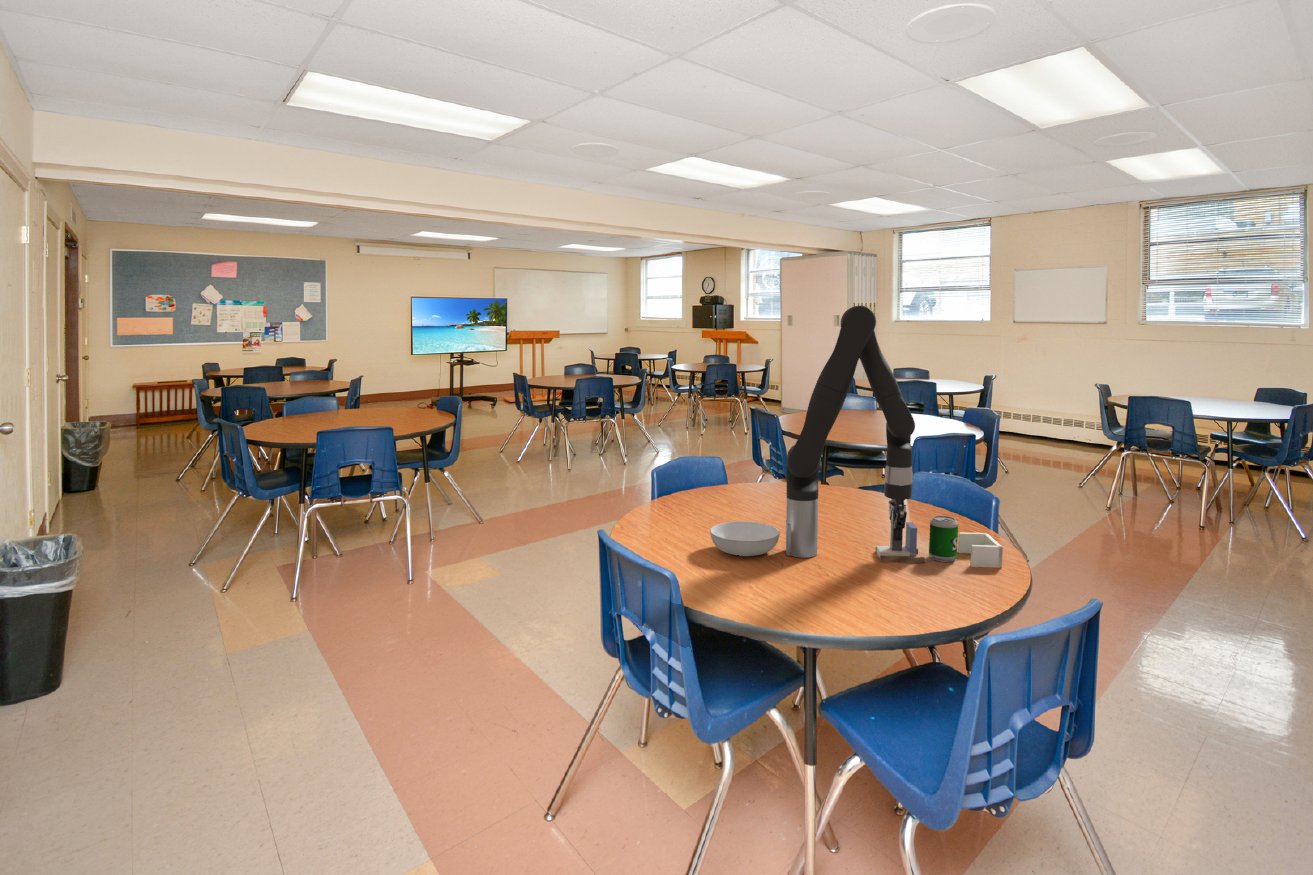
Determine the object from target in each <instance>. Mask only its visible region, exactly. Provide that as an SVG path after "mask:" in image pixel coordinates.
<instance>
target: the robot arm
mask: <svg viewBox="0 0 1313 875" xmlns="http://www.w3.org/2000/svg"><path fill="white" fill-rule="evenodd" d="M876 326H877V317H876V315H875V313H874V311H873V310H872V309H871V308H869V307H868V306H867V305H855V306H852V307H850V308H848V309H847V310H846V311H844V313H843V314H842V316H841V318H840V330H839V332H838V333H839V334H838V336H837V340H836V343H835V346H834V348H833V351H832V353H831V355H830V356H829V358H828V359H827V362H826V363H825V365H824V366H823V368H822V370H821V372H820V373H819V375H818V378H817V380H816V383H815V386H814V388H813V390H812V394H811V396H810V399H809V403H808V407H807V408H806V409H807V411H806V415H805V419H804V423H803V427H802V430H801V431H800V434H799V436H798V438H797V440H796V442H795V444H794V445H792V446H791V447H790V448H789V450H788V451H787V455H786V510H785V511H786V515H785V516H786V517H785V518H786V519H785V553H786V556H787V557H788V556H790V557H795V558H802V559H803V558H805V559H806V558H812V557H813V558H814V557H816V556H817V555H818V538H819V536H818V533H819V531H818V530H819V466H820V462H821V458H822V453H823V451H824V448H825V444H826V441H827V439H828V437H829V436H828V435H829V434H830V433H831V430H832V428H833V426H834V425H835V423H836V420H837V418H838V416H839V414H840V413H841V410H842V408H843V406H844V403H845V401H846V398H847V396H848V393H849V391H850V387H851V386H852V382H853V379H854V376H855V374H856V370H857V366H858V362H859V360H860V362H861V365H862V367H863V371H864V374H865V375H866V377H867V381H868V384H869V387H870V388H871V391H872V394H873V396H874V397H875V400H876V402H877V404H878V406H879V408H880V409H881V411H882V414H883V415H884V418H885V421H886V423H885V425H886V426H885V427H886V428H885V430H886V431H885V435H886V460H885V461H886V462H885V464H886V465H885V469H884V470H885V471H884V489H883V490H884V494H883V495H884V497H885V498H887V499H891V500H889V501H888V508H889V510H888V511H889V521H891V515H892V520H894V526H893V527H894V541H901V540H902V541H903V539H902V529H903V530H904V529H906V521H907V515H908V512H907V505H906V504H905V500H910V499H911V498H912V496H913V481H914V480H913V475H914V474H913V448H912V446H911V445H912V444H911V441H912V440H911V439H912V438H911V437H912V435H913V433H914V432H915V430H916V422H915V420H914V417H913V415H912V413H911V410H910V408H909V407H908V404H907V403H906V401H905V399H904V397H903V394H902V391H901V388H900V386H899V384H898V381H897V379H896V376H895V374H894V373H893V371H892V369H891V366H890V365H889V363H888V361H887V360H886V357H885V356H884V353H883V352H882V350H881V347H880V345H879V343H878V340H877V337H876V332H875V329H876ZM895 516H896V517H895ZM899 522H901V524H898V523H899Z"/></svg>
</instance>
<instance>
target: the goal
mask: <svg viewBox="0 0 1313 875" xmlns="http://www.w3.org/2000/svg"><path fill="white" fill-rule="evenodd" d="M957 554H970V560H969V563H970V565H969V567H971V568H998V569H1001V568H1003V555H1004V546H1003V545H1001V544H1000V543H999V542H998V541H997V540H996V539H994V538H993V537H992V536H991V535H990V534H989V533H987V532H962V531H960V532H959V531H958V541H957Z"/></svg>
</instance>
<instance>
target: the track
mask: <svg viewBox="0 0 1313 875" xmlns="http://www.w3.org/2000/svg"><path fill="white" fill-rule="evenodd" d="M876 548H877V546H875V549H876ZM875 553H876V554H877V552H876V551H875ZM918 554H919V548H918V547H917V548H916V555H918ZM879 560H880V562H881V563H882V562H883V563H911V564H914V563H916V564H925V562H926V561H925V556H916V557H913V556H880V558H879Z"/></svg>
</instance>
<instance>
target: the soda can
mask: <svg viewBox="0 0 1313 875" xmlns="http://www.w3.org/2000/svg"><path fill="white" fill-rule="evenodd" d="M958 538H959V522H958V521H957V520H956V518H955V517H952V516H947V515H935V516H933V518H931V519H930V522H929V539H928V555H929V556H930V558H931V559H932V560H934V561H937V562H943V563H948V562H953V561H954V560H956V559H957V557H958Z"/></svg>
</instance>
